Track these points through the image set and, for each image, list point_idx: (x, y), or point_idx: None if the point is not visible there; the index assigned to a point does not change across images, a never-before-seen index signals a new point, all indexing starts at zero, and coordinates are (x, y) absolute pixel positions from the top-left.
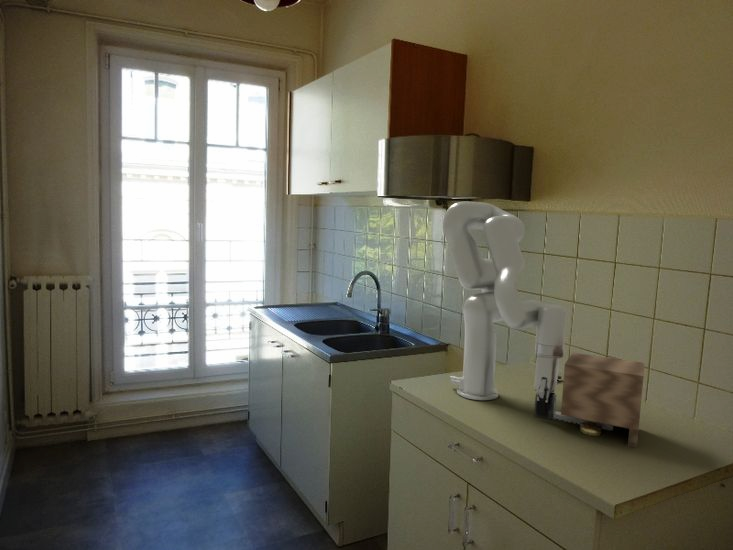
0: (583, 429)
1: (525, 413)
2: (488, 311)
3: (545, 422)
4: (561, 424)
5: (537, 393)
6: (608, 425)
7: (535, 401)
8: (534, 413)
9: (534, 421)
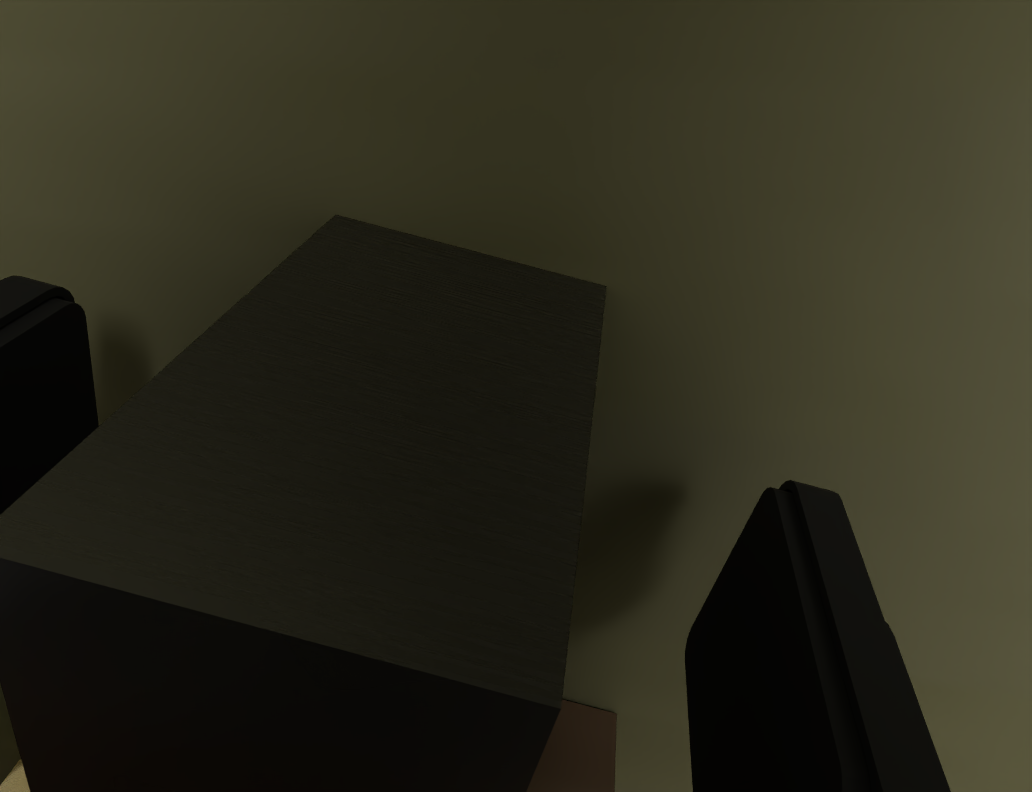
0: (18, 763)
1: (400, 5)
2: None
3: (104, 386)
4: None
5: (243, 645)
6: None
7: (145, 392)
8: (311, 236)
9: (17, 198)
